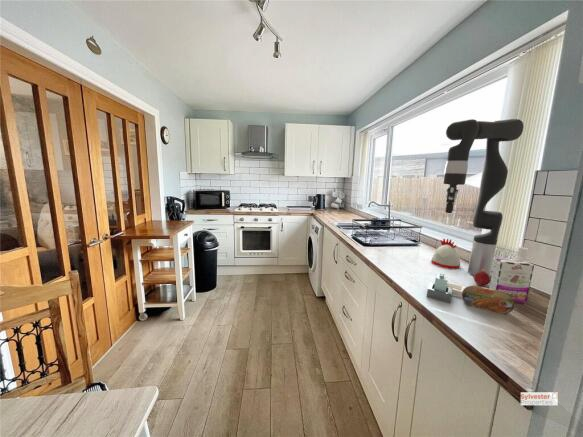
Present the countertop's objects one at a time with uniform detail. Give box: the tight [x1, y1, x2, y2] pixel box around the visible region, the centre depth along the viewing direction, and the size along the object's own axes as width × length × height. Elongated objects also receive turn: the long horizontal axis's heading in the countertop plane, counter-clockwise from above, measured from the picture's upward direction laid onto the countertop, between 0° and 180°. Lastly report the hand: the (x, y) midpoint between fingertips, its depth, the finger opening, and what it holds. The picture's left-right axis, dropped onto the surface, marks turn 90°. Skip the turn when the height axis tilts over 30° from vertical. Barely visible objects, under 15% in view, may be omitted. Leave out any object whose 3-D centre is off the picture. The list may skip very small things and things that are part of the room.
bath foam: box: [511, 246, 531, 263], centre depth 103 cm, size 7×7×20 cm
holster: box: [447, 281, 465, 299], centre depth 100 cm, size 7×7×3 cm
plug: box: [434, 272, 449, 292], centre depth 95 cm, size 4×4×9 cm
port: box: [426, 281, 453, 304], centre depth 95 cm, size 8×8×4 cm
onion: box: [473, 270, 491, 287], centre depth 107 cm, size 6×6×8 cm
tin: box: [461, 285, 515, 315], centre depth 87 cm, size 15×3×8 cm, turn 62°
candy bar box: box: [489, 257, 535, 304], centre depth 96 cm, size 11×5×16 cm, turn 77°
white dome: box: [431, 238, 461, 270], centre depth 134 cm, size 14×14×15 cm
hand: (449, 211), depth 99 cm, fingers open, 8 cm apart
